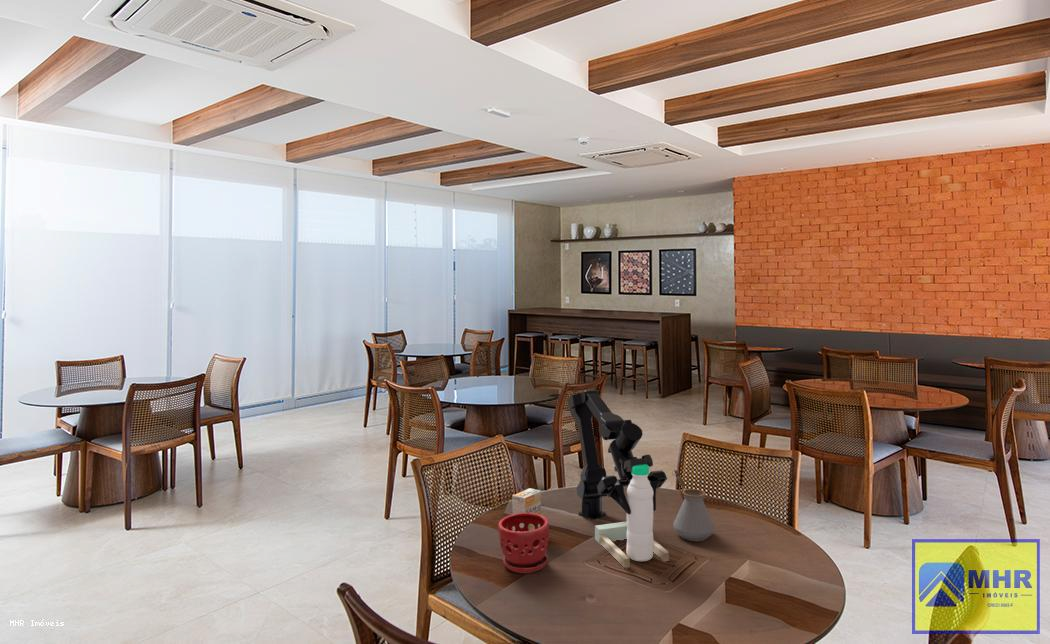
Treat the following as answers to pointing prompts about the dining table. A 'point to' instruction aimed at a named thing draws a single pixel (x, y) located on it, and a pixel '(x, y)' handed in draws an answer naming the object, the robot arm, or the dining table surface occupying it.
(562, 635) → the dining table surface
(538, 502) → the supplement box
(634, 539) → the water bottle
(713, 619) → the dining table surface
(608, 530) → the block
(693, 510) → the coffee pot
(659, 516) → the dining table surface
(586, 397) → the robot arm
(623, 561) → the rails
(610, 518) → the dining table surface
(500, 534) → the plant pot
